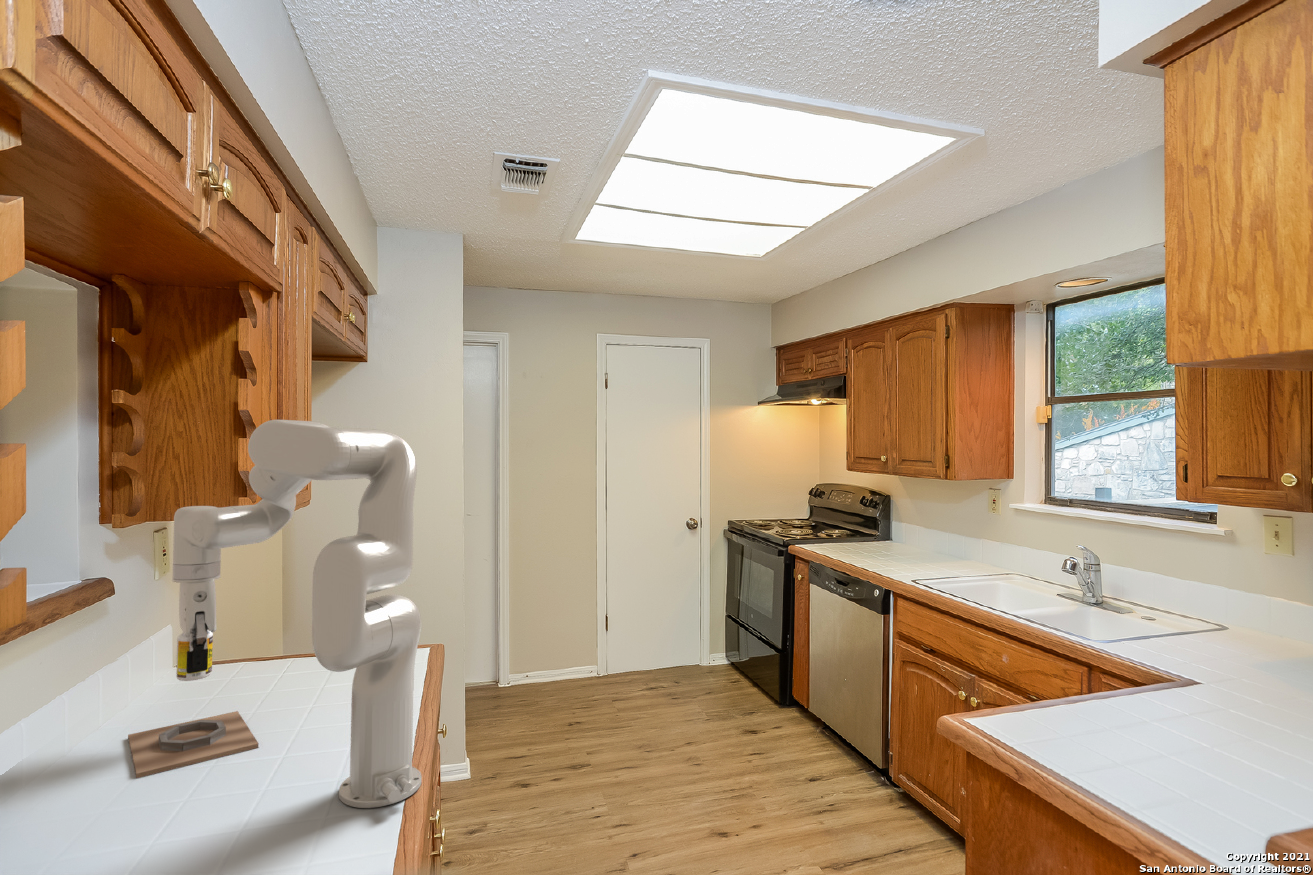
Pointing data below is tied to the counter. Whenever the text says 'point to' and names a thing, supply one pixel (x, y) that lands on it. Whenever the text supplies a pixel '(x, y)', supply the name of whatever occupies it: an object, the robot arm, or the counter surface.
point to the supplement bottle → (182, 658)
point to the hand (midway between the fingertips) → (194, 666)
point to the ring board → (189, 743)
